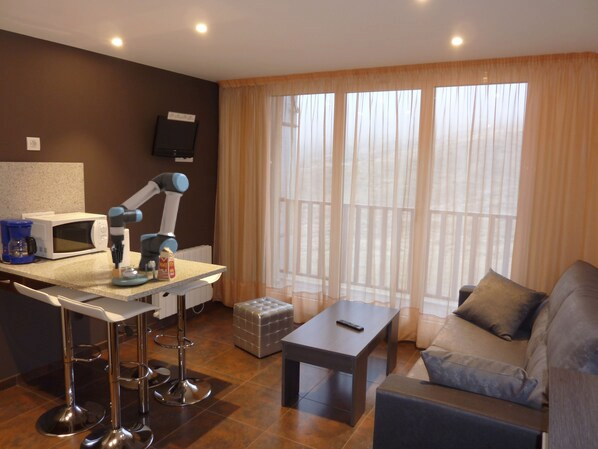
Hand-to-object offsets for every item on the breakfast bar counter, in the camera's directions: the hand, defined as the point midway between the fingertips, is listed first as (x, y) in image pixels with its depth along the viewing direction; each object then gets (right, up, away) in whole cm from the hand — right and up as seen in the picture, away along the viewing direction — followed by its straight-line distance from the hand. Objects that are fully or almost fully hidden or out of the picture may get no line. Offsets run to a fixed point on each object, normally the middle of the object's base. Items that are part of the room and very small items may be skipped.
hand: (118, 273), depth 268 cm
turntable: (+8, -4, -2) cm, 9 cm away
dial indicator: (+19, -5, +4) cm, 20 cm away
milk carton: (+25, -4, +12) cm, 28 cm away
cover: (+8, -2, -2) cm, 9 cm away
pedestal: (+8, -5, -2) cm, 10 cm away
